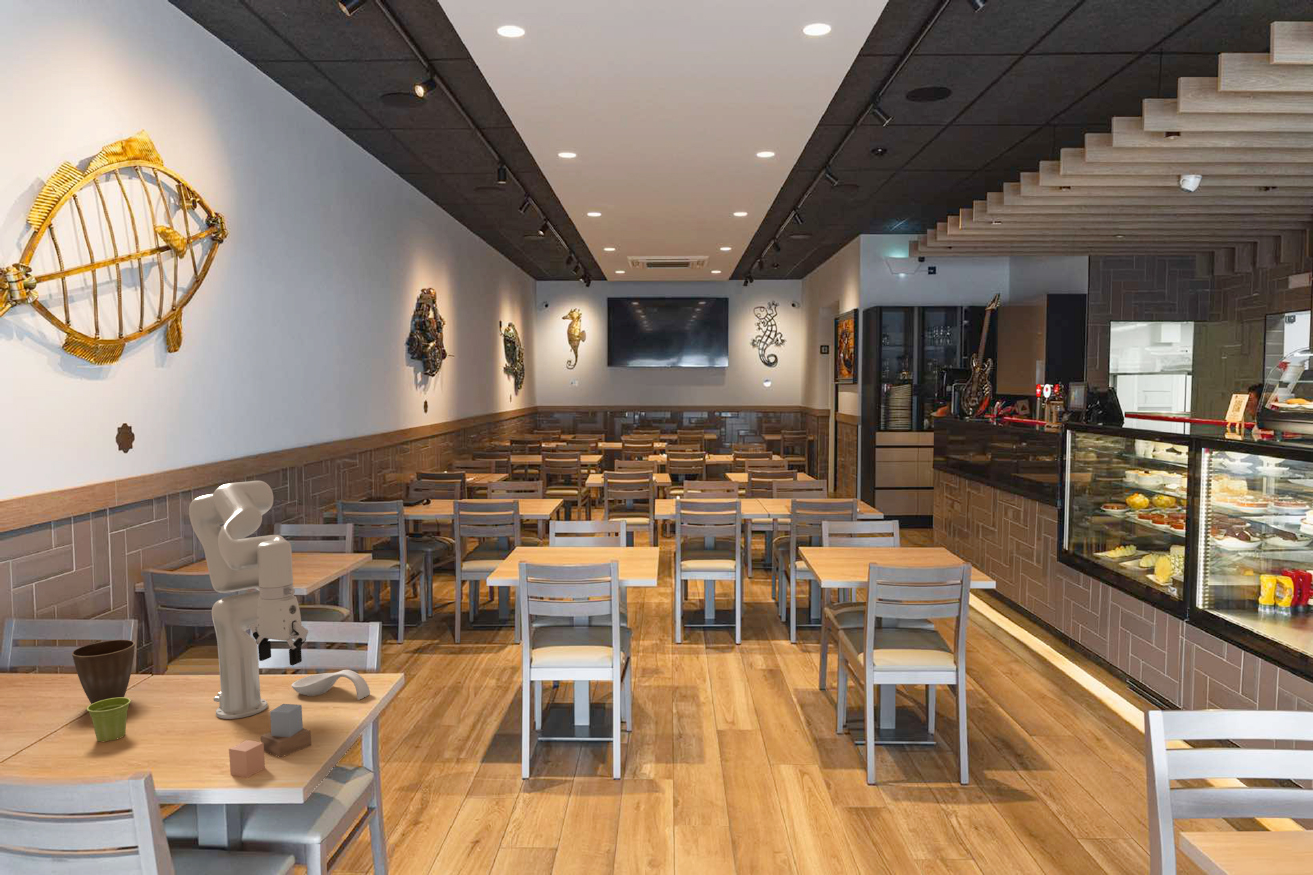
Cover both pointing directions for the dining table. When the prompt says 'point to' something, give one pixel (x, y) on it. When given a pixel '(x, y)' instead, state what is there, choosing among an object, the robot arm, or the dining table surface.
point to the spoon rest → (330, 683)
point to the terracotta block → (246, 758)
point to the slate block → (286, 720)
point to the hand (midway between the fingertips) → (280, 661)
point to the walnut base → (286, 743)
